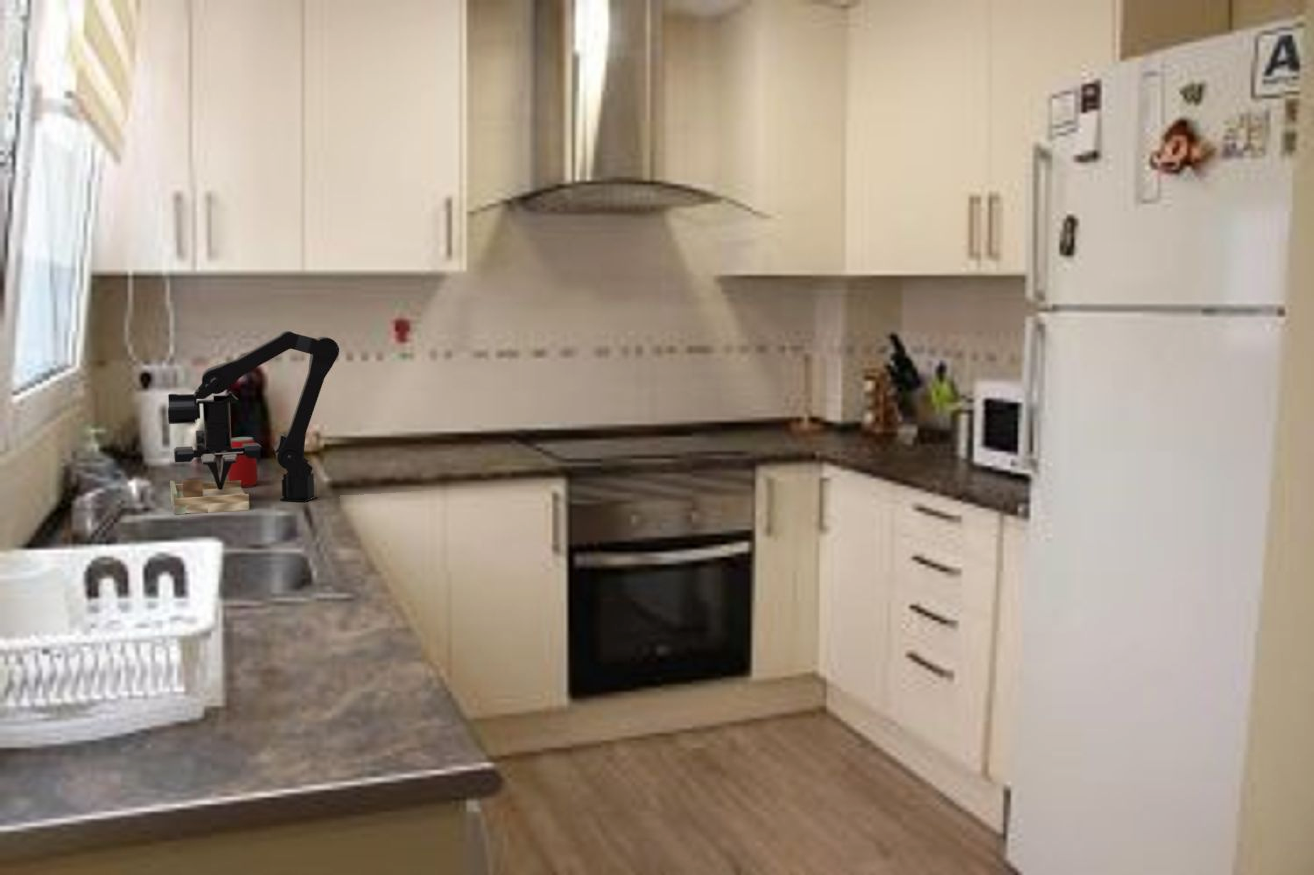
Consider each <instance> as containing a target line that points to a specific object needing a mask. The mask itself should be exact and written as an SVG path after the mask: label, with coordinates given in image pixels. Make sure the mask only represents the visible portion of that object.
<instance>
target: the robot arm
mask: <svg viewBox="0 0 1314 875" xmlns="http://www.w3.org/2000/svg"><path fill="white" fill-rule="evenodd" d="M288 350H294V351H299V352H301V353H305V354H309V360H308V361H309V364H308V370H307V375H306V377H305V381H304V383H303V387H302V389H301V392H300V395H299V398H298V402H297V405H296V408H295V410H294V413H293V416H292V420H291V422H290V425H289V427H288V429H287V431H286V432H285V433H284V434H283V433H282V432H279V433H278V437H277V442H276V444H275V445H274V447H273V450H274V453H275V458H276V461H277V463H278V464H279V466H280V467H281V468H283V469H284V470H286V471H287V472H283V473H282V478H283V479H281V496H282V497H280V499H279V500H280V501H285V502H288V501H289V502H301V501H302V502H301V503H303V501H306V500H308V501H310V500H309V499H311V498H313V497H316V496H318V494H315V475H314V474H315V473H314V472H312V471H313V468H314V467H313V466H312V464H311V462H310V461H309V460H308V459H307V458H306V457H305V456H304V454H305V447H306V446H305V445H306V437H307V435H306V434H307V431H308V427H309V425H310V422H311V419H312V416H313V414H314V410H315V407H316V404H317V402H318V399H319V396H320V393H321V389H322V386H323V383H324V380H325V378H326V376H327V374H328V373H329V372H330V371H331V369H332V367H333V366H334V364H335V362H336V360H337V359H338V356H339V354H340V346H339V345H338V343H337V341H335V339H332V338H330V337H329V336H320V337H318V338H314V337H310V336H306V335H302V334H298V333H294V332H293V331H291V330H285V331H282V332H281V333H280V334H279V335H278V336H276V337H274V338H271V339H270V340H268V341H266V342H264V343H263V344H261V345H259V346H257V347H256V348H253V349H252V350H250V351H249V352H247V353H245V354H243V355H241V356H239V357H238V358H236V359H232V360H229V361H226V362H223V363H220V364H217V365H213V366H211V367H209V368H207V369H205V370H204V372H202V375H201V383H200V385H199V386H198V388H196V389H195V391H194V393H187V394H184V393H183V394H180V393H179V394H178V393H168V395H167V396H168V399H167V400H168V408H167V419H168V424H169V425H181V424H196V420H198V419H199V420H200V419H201V408H200V407H201V405H200V404H202V410H203V411H202V414H203V416H202V417H203V430H196V431H195V441H196V446H203V448H202V449H194V448H193V446H176V447H175V448H174V449H173V458H174V460H173V461H174V462H175V463H190V462H192V461H193V459H194V458H195V459H196V458H198V459H199V458H200V459H201V463H202V465H203V466H208V468H209V470H210V472H211V474H212V476H213V479H214V482H216V484H217V487H218V490H222V489H223V486H224V483H225V481H226V479H227V477H228V475H229V472H228V471H229V469H230V467H231V465H232V463H237V460H236V456H237V455H245V456H246V457H248V458H257V459H262V458H263V457H264V456H263V454H264V452H263V447H262V446H261V444H259V443H258V442H255V443H249V444H243V445H242V447H239V448H232V444H231V438H232V428H231V427H232V426H231V424H232V423H231V422H232V421H231V405H230V404H236V403H239V398H237V397H236V396H235V395H234V394H233V392H232V391H229V392H228V393H227V394H226V395H225V394H224V395H223V393H224V392H225V391H226V390H228V389H229V388H231V387H232V386H233V385H234V384H235V383H236V382H237V381H239V380H240V378H242V377H244V375H246V374H247V373H249V372H251V371H253V370H254V369H256V368H258V367H259V366H261V365H263V364H266V363H268V361H271V360H272V359H274V358H276V357H277V356H279V355H281V354H284V353H285V352H286V351H288ZM212 394H213V399H206V398H208V397H210V396H211V395H212ZM219 394H222V395H219ZM216 457H221V458H220V459H221V460H220V466H221V467H220V475H219V469H218V464H217V460H216ZM316 498H317V497H316ZM311 500H312V499H311ZM306 502H307V501H306Z"/></svg>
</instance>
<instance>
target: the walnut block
mask: <svg viewBox="0 0 1314 875" xmlns="http://www.w3.org/2000/svg"><path fill="white" fill-rule="evenodd" d="M181 480H182V481H181V482H182V484H183V497H184V498H191V497H203V486H202V483H203V479H202V477H189V478H188V477H187V478H182V479H181Z"/></svg>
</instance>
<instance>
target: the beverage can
mask: <svg viewBox="0 0 1314 875" xmlns="http://www.w3.org/2000/svg"><path fill="white" fill-rule="evenodd" d="M249 443H256V442H255V440H254V437H251V436H238V437H231V444H232V448H239V447H242V445H243V444H249ZM236 460H237V463H232V465H231V467H230V469H229V471H228V481H240V480H241V488H251V487H253V486H255V485H256V484H257V483H258V458H248V457H246V456H245V455H237V456H236Z"/></svg>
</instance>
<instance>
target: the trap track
mask: <svg viewBox="0 0 1314 875" xmlns="http://www.w3.org/2000/svg"><path fill="white" fill-rule="evenodd" d="M169 482H170V484H169V485H170V502H171V505H172V509H173V514H174V515H175V514H180V515H186V514H185V513H194V514H207V513H206V512H208V513H209V514H210V513H221V512H234V511H235V512H236V511H249V510H250V494H249V493H245V492H244V490H243V487H241V480H240V481H229V480H227V481H226V480H225V483H224V486H223V489H222V490H218V487H217V484H216V482H215V481H209V482H202V486H203V497H191V498H184V497H183V483H175V480H170V481H169Z"/></svg>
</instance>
